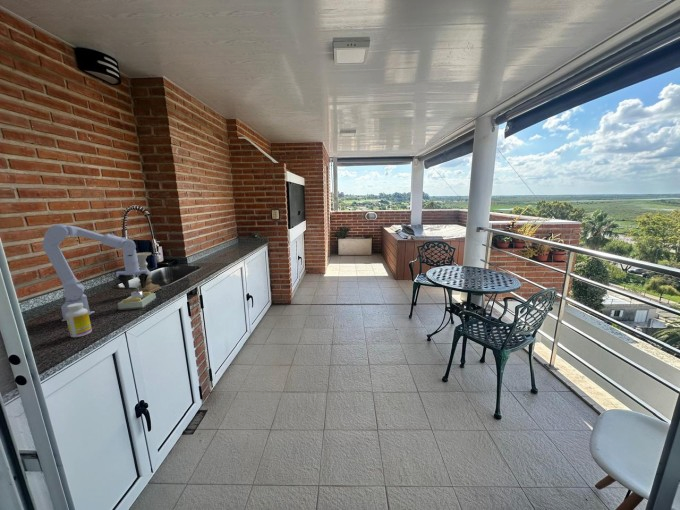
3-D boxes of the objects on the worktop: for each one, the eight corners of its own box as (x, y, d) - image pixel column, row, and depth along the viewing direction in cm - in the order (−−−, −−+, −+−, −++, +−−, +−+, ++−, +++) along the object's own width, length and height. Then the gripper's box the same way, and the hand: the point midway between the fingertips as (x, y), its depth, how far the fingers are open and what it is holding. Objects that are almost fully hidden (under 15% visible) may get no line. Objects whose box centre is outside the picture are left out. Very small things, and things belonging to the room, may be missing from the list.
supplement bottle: (96, 330, 116) (90, 301, 114) (82, 337, 109) (76, 307, 107) (80, 330, 116) (74, 302, 113) (65, 338, 109) (58, 308, 107)
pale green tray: (142, 308, 140) (141, 299, 139) (118, 310, 138) (117, 301, 137) (156, 299, 153) (154, 290, 152) (134, 300, 151) (132, 292, 150)
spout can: (141, 304, 144) (139, 290, 142) (130, 304, 143) (128, 291, 141) (146, 300, 148) (143, 287, 147) (135, 301, 147) (133, 288, 146)
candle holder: (144, 289, 171) (138, 252, 167) (162, 289, 171) (156, 251, 167) (131, 295, 160) (124, 255, 156) (150, 295, 160) (143, 255, 156)
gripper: (150, 260, 146) (154, 284, 149) (120, 262, 144) (124, 286, 146) (143, 263, 139) (147, 288, 142) (111, 264, 137) (116, 290, 139)
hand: (135, 288), depth 144 cm, fingers open, 7 cm apart
